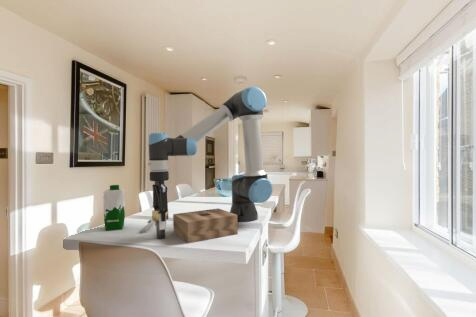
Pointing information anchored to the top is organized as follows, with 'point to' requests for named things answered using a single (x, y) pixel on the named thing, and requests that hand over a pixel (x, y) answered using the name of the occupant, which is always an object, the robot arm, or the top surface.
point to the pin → (156, 218)
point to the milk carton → (114, 208)
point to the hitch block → (204, 225)
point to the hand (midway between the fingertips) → (160, 227)
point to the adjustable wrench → (148, 226)
